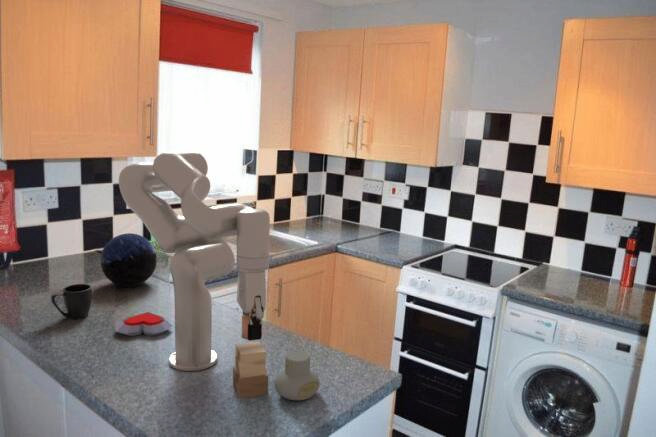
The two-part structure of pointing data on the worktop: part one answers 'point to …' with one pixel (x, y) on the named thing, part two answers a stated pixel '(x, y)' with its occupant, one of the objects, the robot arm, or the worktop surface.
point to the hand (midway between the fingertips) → (251, 334)
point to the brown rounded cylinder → (245, 325)
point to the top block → (250, 359)
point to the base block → (250, 385)
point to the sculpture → (143, 325)
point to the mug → (75, 301)
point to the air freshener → (297, 378)
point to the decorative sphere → (128, 259)
